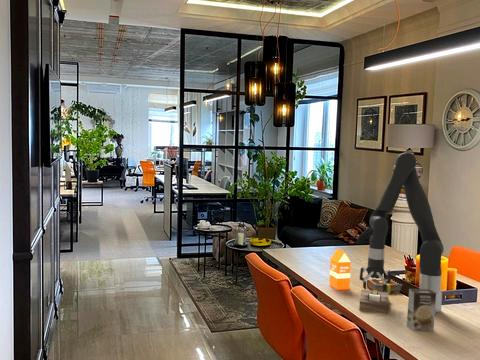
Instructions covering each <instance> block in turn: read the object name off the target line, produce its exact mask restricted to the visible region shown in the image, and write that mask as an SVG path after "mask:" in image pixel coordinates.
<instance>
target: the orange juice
mask: <svg viewBox="0 0 480 360" xmlns="http://www.w3.org/2000/svg"><path fill="white" fill-rule="evenodd" d="M329 263H330V264H329V286H330V287H331V288H333V289H335V290H337V291H340V290H350V288H351V285H350V283H351V267H352V266H351V263H352V262H351V260H350V258H349V257H348V255H347V253H346V252H345V251H344V250H341V249H339V248H337V249H336V250H335V252H334V253H333V254H332V256H331V258H330V259H329Z"/></svg>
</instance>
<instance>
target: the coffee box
mask: <svg viewBox="0 0 480 360" xmlns="http://www.w3.org/2000/svg"><path fill="white" fill-rule="evenodd" d="M407 302H408V303H407V313H406V314H407V316H406V317H407V318H406V326H407V327H408V328H409V329H410V330H411V331H413V332H434V331H435V315H436V313H435V302H436V293H435V292H433V291H431V290H430V289H419V288H409V289H408V301H407Z"/></svg>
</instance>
